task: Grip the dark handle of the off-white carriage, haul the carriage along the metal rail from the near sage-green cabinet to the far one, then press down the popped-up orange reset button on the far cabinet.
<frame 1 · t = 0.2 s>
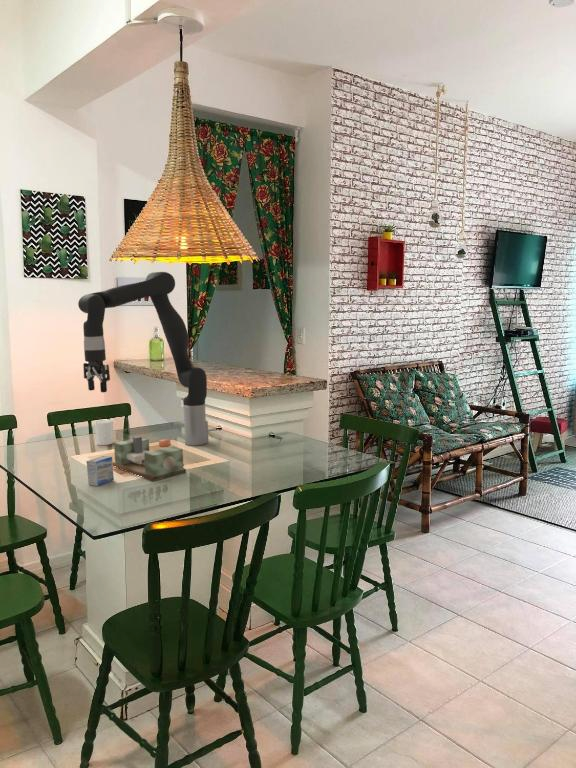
hand: (97, 391, 240), 28 cm above the table, tool pointing down, fingers open, 8 cm apart
medicine box: (101, 483, 221), on the table
white cup: (105, 444, 278), on the table
reset button: (164, 443, 225), point 12 cm above the table, slide at 0.0 cm
rail stand: (148, 469, 235), on the table
carriage: (140, 449, 238), point 7 cm above the table, slide at 0.0 cm
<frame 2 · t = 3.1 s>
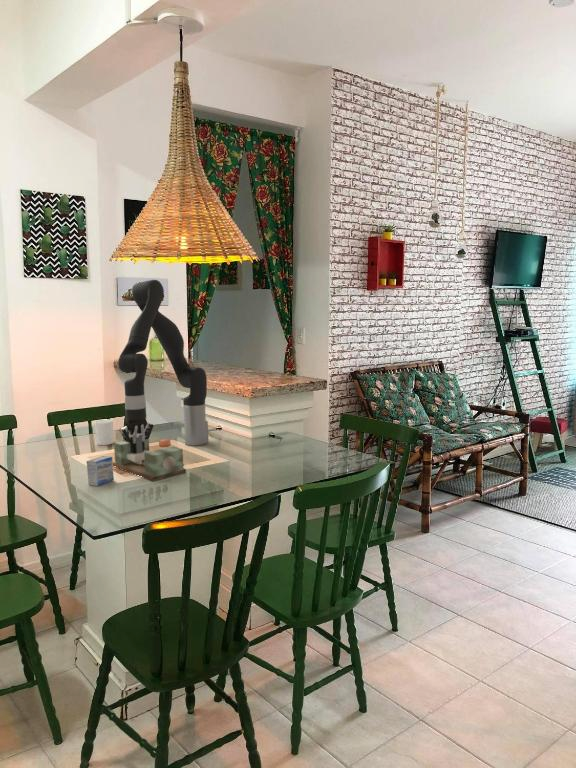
hand: (138, 451, 240), 6 cm above the table, tool pointing down, fingers closed on carriage, 2 cm apart
carriage: (140, 449, 238), point 7 cm above the table, slide at 0.0 cm, touching gripper
everything else where it was.
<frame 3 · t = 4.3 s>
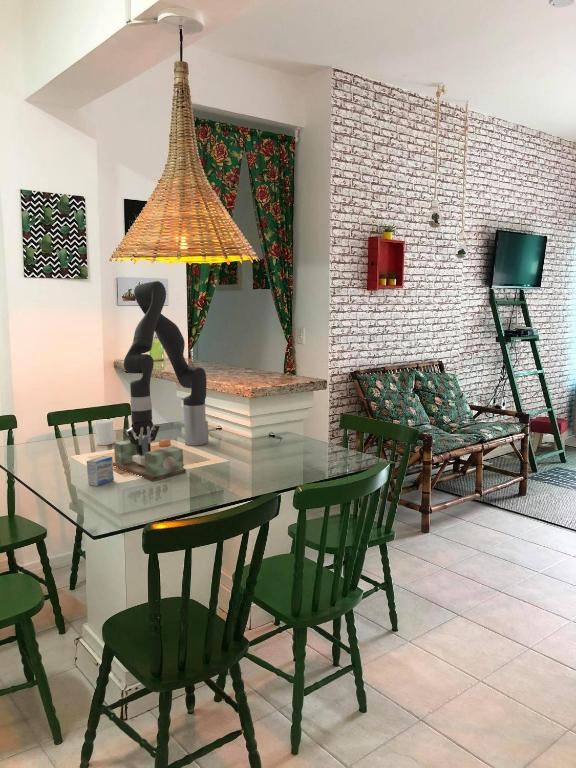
hand: (143, 453, 237), 6 cm above the table, tool pointing down, fingers closed on carriage, 2 cm apart
carriage: (145, 451, 235), point 7 cm above the table, slide at 4.2 cm, touching gripper
everything else where it was.
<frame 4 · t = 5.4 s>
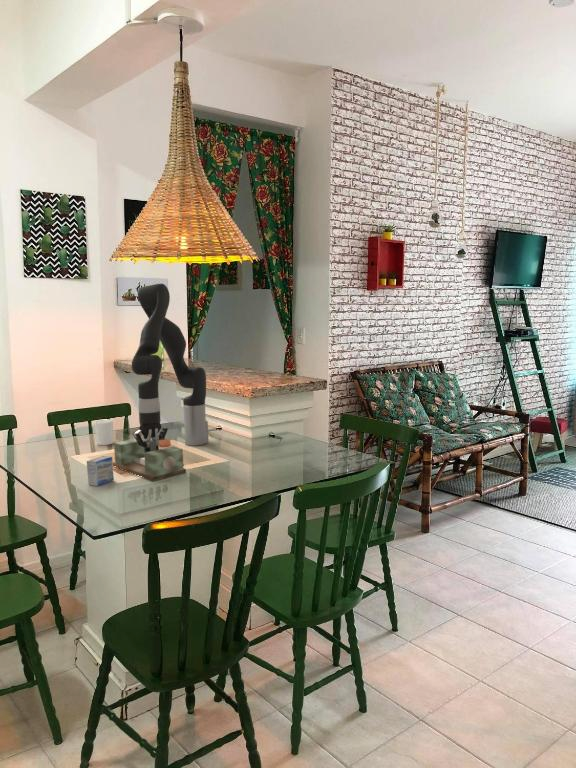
hand: (151, 456, 233), 6 cm above the table, tool pointing down, fingers closed on carriage, 2 cm apart
carriage: (153, 454, 231), point 7 cm above the table, slide at 9.8 cm, touching gripper
everything else where it was.
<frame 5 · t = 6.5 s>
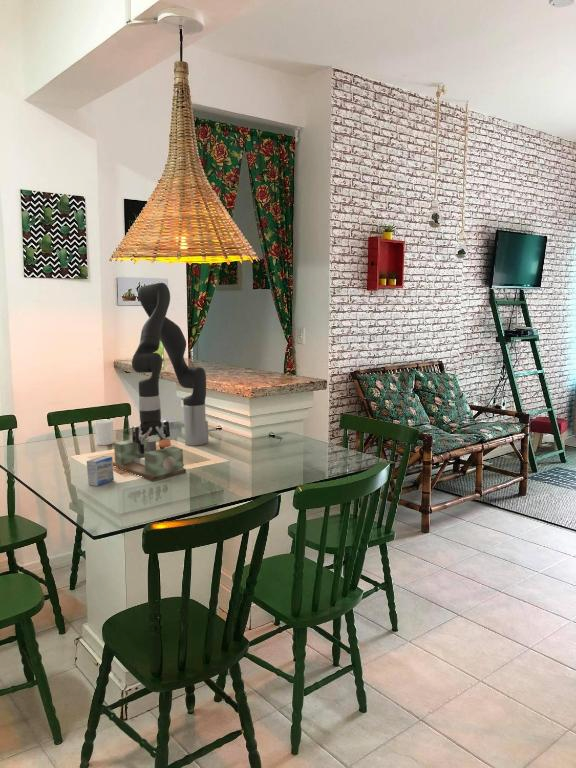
hand: (152, 451, 232), 7 cm above the table, tool pointing down, fingers open, 8 cm apart
carriage: (153, 454, 231), point 7 cm above the table, slide at 9.8 cm
everything else where it was.
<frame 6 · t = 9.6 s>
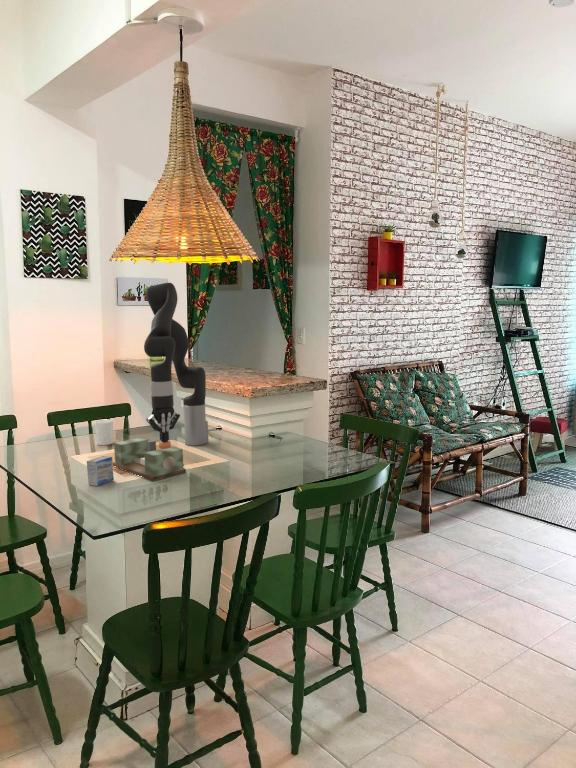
hand: (164, 441, 225), 12 cm above the table, tool pointing down, fingers closed
reset button: (164, 444, 225), point 11 cm above the table, slide at 0.6 cm, touching gripper
everything else where it was.
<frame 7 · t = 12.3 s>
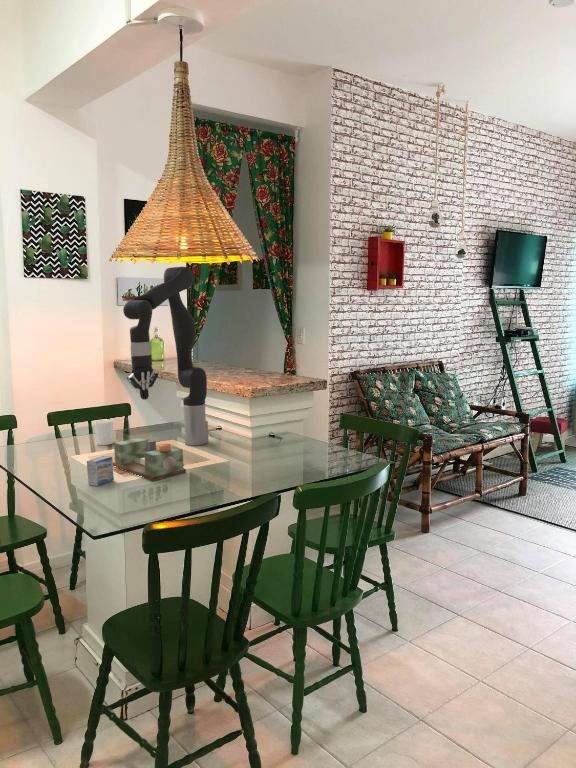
hand: (144, 399, 242), 25 cm above the table, tool pointing down, fingers closed
reset button: (165, 447, 225), point 10 cm above the table, slide at 1.7 cm
everything else where it was.
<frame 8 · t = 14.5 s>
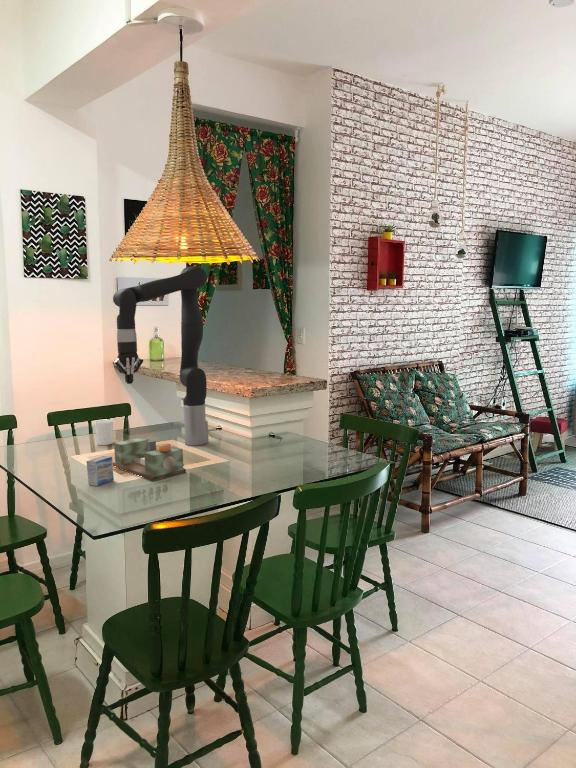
hand: (129, 383, 255), 29 cm above the table, tool pointing down, fingers closed
nothing on the table moved.
at the end: carriage slide at 9.8 cm; reset button slide at 1.7 cm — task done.
